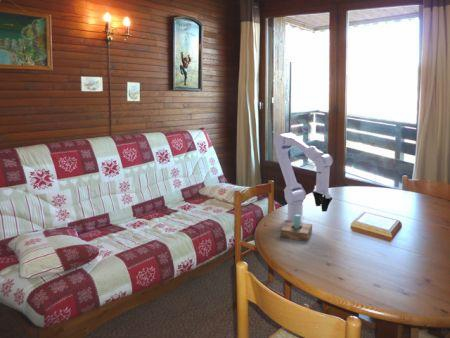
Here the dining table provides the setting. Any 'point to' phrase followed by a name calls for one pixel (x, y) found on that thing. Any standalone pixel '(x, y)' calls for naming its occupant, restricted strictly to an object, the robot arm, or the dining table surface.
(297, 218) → the peg
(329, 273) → the dining table surface
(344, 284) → the dining table surface
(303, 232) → the socket block
